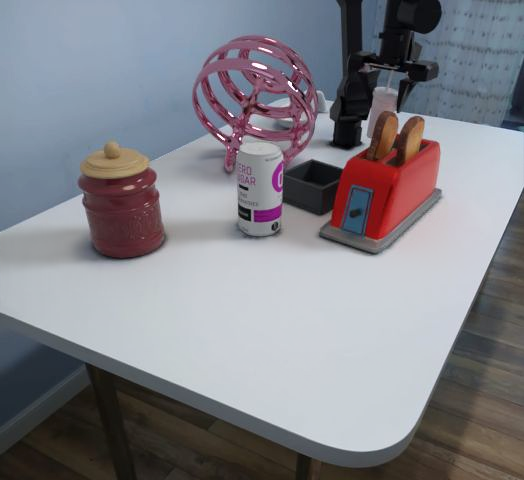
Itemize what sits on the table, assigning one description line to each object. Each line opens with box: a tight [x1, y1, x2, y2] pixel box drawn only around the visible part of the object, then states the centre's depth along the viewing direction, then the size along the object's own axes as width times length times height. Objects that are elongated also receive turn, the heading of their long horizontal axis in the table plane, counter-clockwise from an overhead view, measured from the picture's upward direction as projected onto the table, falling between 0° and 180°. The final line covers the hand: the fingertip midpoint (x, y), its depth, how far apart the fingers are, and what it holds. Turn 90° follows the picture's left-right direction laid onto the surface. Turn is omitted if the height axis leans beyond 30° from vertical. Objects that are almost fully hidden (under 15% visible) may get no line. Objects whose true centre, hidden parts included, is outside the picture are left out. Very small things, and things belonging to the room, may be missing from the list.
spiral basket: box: [191, 34, 319, 172], centre depth 109 cm, size 28×28×27 cm
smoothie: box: [366, 70, 399, 140], centre depth 108 cm, size 6×6×14 cm
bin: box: [282, 158, 344, 216], centre depth 103 cm, size 12×12×5 cm
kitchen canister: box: [77, 140, 165, 259], centre depth 84 cm, size 13×13×18 cm
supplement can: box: [235, 140, 284, 237], centre depth 89 cm, size 8×8×15 cm
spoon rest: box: [274, 89, 327, 130], centre depth 143 cm, size 24×12×7 cm, turn 151°
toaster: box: [319, 111, 443, 254], centre depth 93 cm, size 32×13×19 cm, turn 144°
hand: (384, 110), depth 109 cm, fingers closed on smoothie, 6 cm apart
